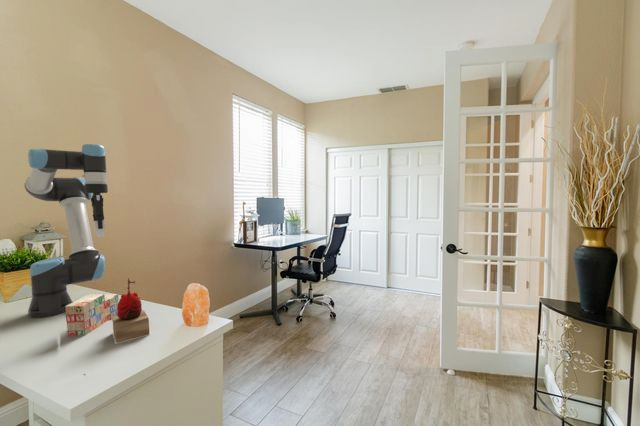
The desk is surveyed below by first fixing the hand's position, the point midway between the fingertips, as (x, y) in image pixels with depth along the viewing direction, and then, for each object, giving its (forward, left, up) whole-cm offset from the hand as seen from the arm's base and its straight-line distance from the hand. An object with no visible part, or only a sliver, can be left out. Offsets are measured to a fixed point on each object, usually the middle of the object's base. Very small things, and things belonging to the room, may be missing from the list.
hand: (99, 235), depth 127 cm
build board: (+26, +4, -35) cm, 44 cm away
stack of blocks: (+7, -4, -35) cm, 36 cm away
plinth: (+26, +6, -34) cm, 43 cm away
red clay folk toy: (+26, +6, -28) cm, 39 cm away
